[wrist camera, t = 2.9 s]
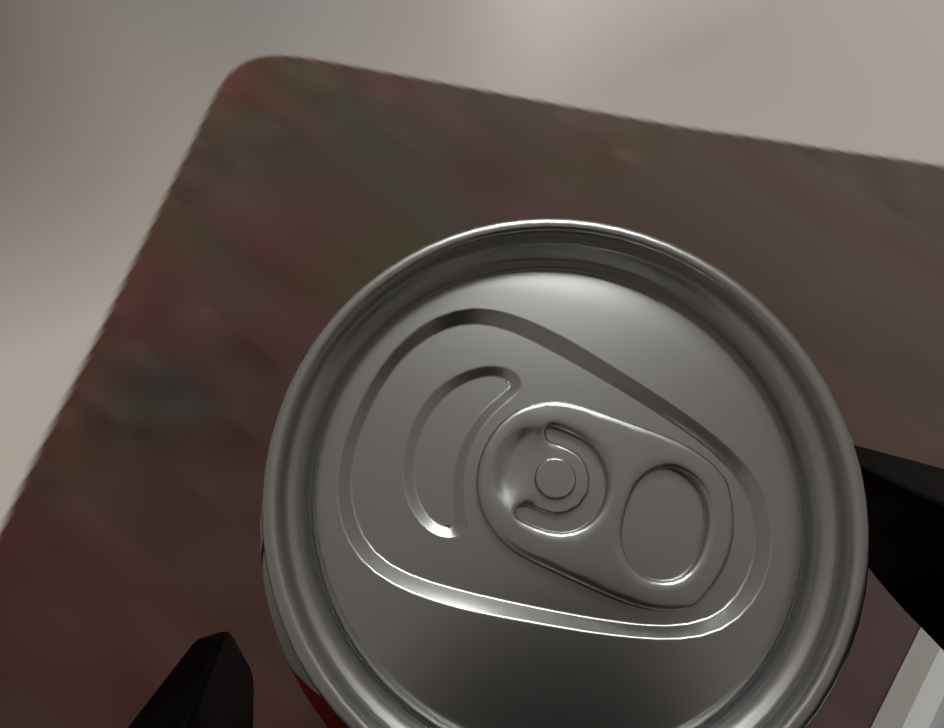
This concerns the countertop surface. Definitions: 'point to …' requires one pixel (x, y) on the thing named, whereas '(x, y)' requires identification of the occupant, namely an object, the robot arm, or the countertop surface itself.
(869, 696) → the countertop surface
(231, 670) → the robot arm
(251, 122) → the countertop surface
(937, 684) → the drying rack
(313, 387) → the soda can
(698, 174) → the countertop surface
